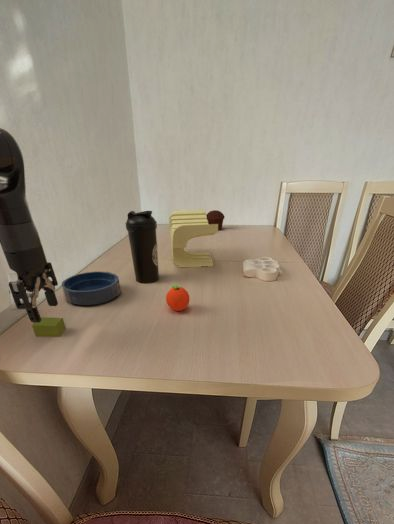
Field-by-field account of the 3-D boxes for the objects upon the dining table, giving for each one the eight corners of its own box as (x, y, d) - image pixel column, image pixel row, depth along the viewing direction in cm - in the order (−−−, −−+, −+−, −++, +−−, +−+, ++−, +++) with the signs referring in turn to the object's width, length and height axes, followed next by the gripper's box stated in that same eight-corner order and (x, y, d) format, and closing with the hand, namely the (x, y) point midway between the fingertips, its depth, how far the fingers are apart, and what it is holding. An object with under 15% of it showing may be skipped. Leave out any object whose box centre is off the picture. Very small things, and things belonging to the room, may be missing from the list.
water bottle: (159, 284, 105) (153, 214, 92) (131, 284, 105) (120, 214, 92) (162, 274, 113) (157, 208, 100) (136, 274, 113) (127, 209, 101)
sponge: (38, 342, 74) (31, 325, 71) (45, 334, 77) (39, 317, 74) (61, 343, 74) (55, 325, 71) (68, 334, 77) (62, 317, 74)
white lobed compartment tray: (242, 264, 121) (278, 265, 120) (243, 280, 107) (284, 281, 105) (242, 256, 120) (279, 257, 118) (244, 271, 105) (286, 272, 103)
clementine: (162, 305, 90) (160, 283, 86) (183, 301, 93) (182, 279, 89) (171, 316, 84) (169, 293, 80) (193, 312, 87) (193, 289, 83)
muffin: (210, 232, 169) (211, 213, 163) (201, 228, 177) (201, 210, 172) (228, 229, 174) (228, 211, 168) (218, 226, 182) (218, 208, 176)
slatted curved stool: (171, 253, 136) (168, 211, 126) (205, 251, 138) (205, 209, 128) (175, 275, 112) (172, 225, 102) (216, 273, 113) (218, 224, 103)
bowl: (56, 306, 91) (51, 291, 88) (78, 284, 105) (74, 271, 103) (112, 307, 90) (109, 292, 87) (126, 285, 104) (124, 271, 102)
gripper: (23, 236, 68) (44, 300, 77) (-18, 254, 57) (13, 327, 66) (54, 236, 68) (72, 301, 77) (20, 254, 56) (46, 328, 65)
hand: (45, 313), depth 71 cm, fingers open, 8 cm apart
